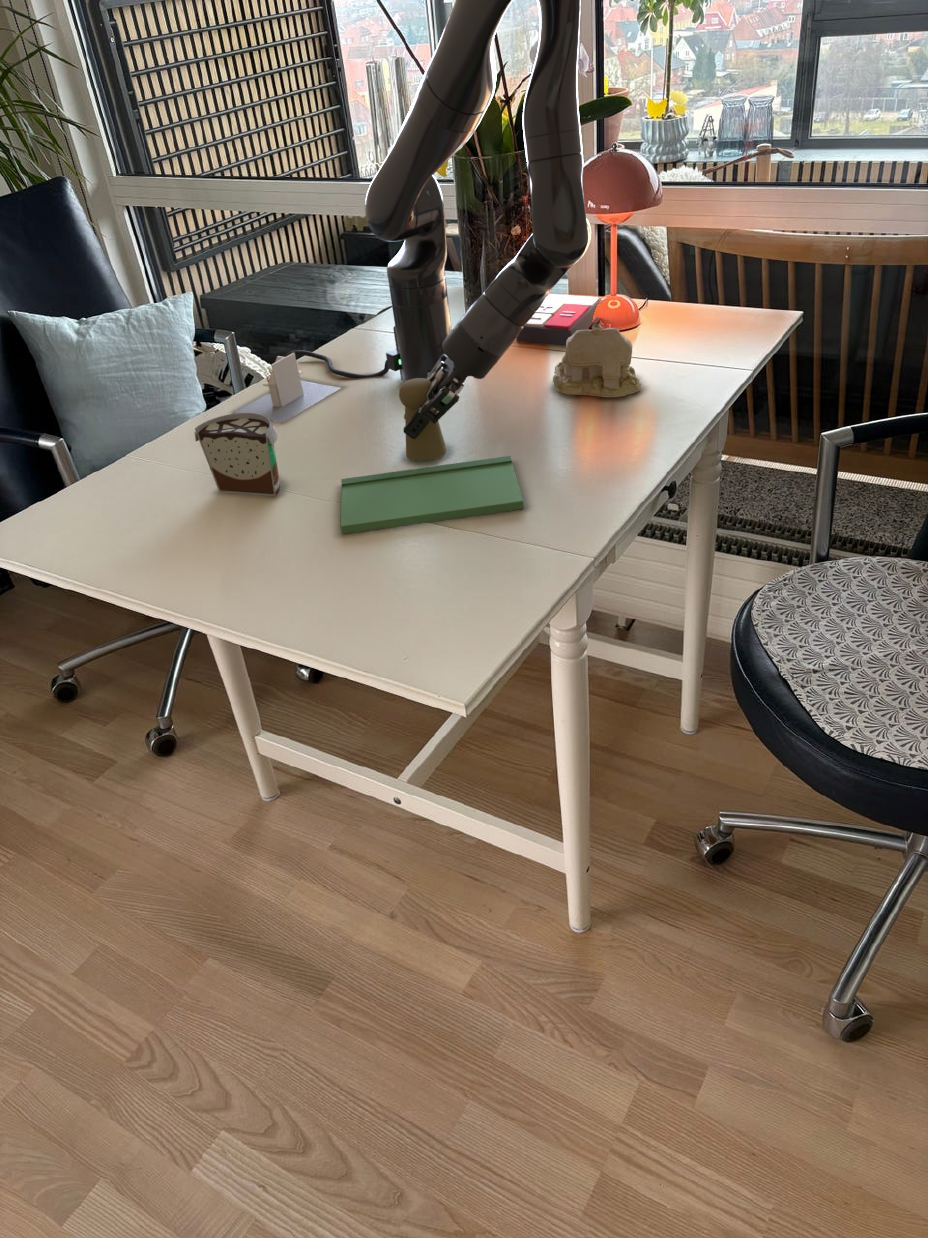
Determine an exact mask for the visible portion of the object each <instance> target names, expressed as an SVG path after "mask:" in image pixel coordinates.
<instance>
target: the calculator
mask: <svg viewBox="0 0 928 1238" xmlns="http://www.w3.org/2000/svg"><path fill="white" fill-rule="evenodd" d="M600 301H601V302H602V299H601V298H599V297H596V296H595V297H594V296H579V295H578V296H577V295H561V294H548V295H547V297H546V299H545V300H544V302H543V303H542V305H541V306H540V307H539V309H538V310H537V311H536V313H535V314H534V315H533V316H532V317H531V319H530V320H529V321H528V322H527V324H526V325H525V326H524V327H523V328H522V330H521V331H520V333H519V334H518V336H517V338H516V339H515V340H516V342H517V343H527V344H538V345H549V346H562V347H566V341H567V339H568V338H569V337H571V336H572V335H573V334H574V333H575V332H576V330H589V329H590V328H591V327H592V326H593V325H594V324H598V322H599V321H600V320H601V319H602V318H598V317H597V318H596V319H595V320H594V321H593V322H592V320H593V315H594V312H595V309H596V307H597V305H598V304H599V302H600Z"/></svg>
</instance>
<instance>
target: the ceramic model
mask: <svg viewBox="0 0 928 1238" xmlns="http://www.w3.org/2000/svg"><path fill="white" fill-rule="evenodd" d="M564 351H565V352H564V355H563V356H562V359H561V362H560V361H559V362H558V363H556V365H555V367H554V375H553V376H552V382H553V387H554V389H555V390H556V391H557V392H559V393H561V394H565V395H572V396H576V395H579V396H580V395H581V396H583V395H584V396H592V397H593V396H594V397H602V398H620V397H625V396H629V395H632V394H636V393H637V392H639V391H640V390H641V389H642V383H641V382H640V379H639V378H638V377H637V375H636V370H635V368H634V367H633V366H630V365H631V364H632V357H633V344H632V341H631V339H629V338H627V337H626V336H625V335H623V334H622V333H621V332H620V330H619V329H618V328H615V327H610V328H609V327H608V328H607V327H605V328H602V326H601V323H596V324H592V326H591V329H587V330H576V332H575V333H574V334H573V335H572V336H571V337H569V338H568V339H567V341H566V346H565V350H564Z"/></svg>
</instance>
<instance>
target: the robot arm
mask: <svg viewBox="0 0 928 1238" xmlns="http://www.w3.org/2000/svg"><path fill="white" fill-rule="evenodd" d="M513 1H514V0H455V1H454V4H453V6H452V10H451V12H450V15H449V17H448V20H447V21H446V24H445V27H444V29H443V32H442V34H441V37H440V39H439V42H438V44H437V46H436V49H435V51H434V53H433V55H432V57H431V60H430V61H429V63H428V64H427V67H426V70H425V72H424V74H423V77H422V79H421V81H420V84H419V86H418V87H417V91H416V94H415V97H414V98H413V102H412V103H411V105H410V108H409V111H408V113H407V115H406V117H405V119H404V121H403V123H402V126H401V128H400V130H399V133H398V135H397V136H396V139H395V141H394V143H393V145H392V147H391V148H390V150H389V152H388V154H387V156H386V158H385V159H384V160H383V162H382V164H381V166H380V168H379V169H378V171H377V173H376V174H375V176H374V177H373V179H372V181H371V183H370V185H369V187H368V189H367V192H366V195H365V196H366V197H365V201H364V202H365V203H364V209H365V210H364V213H365V219H366V223H367V225H368V228H369V230H370V231H371V233H372V234H373V235H374V236H375V237H376V238H377V239H379V240H382V241H384V242H388V243H390V242H391V243H392V242H393V243H394V242H401V241H404V242H403V244H402V246H401V248H400V249H399V251H398V252H397V254H396V255H395V256H394V257H393V258H392V259H391V260H390V261H389V262H388V264H387V267H386V276H387V282H388V290H389V295H390V302H391V307H392V315H393V321H394V325H393V334H394V342H395V349H393V350H390V351H387V352H385V356H386V360H385V361H384V367H383V369H381V370H380V371H378V372H375V373H369V374H361V373H354V372H349V371H345V370H341V369H336V368H335V367H334V364H333V361H332V359H331V358H330V357H329V356H326V355H323V354H320V353H317V352H313V351H308V350H304V349H303V350H302V349H295V350H291V351H289V352H287V353H285V354H284V356H283V357H287V356H289V355H290V354H292V353H295V356H305V357H306V356H307V357H310V358H314V359H318V360H320V361H324V362H325V363H326V364H327V368H328V370H329V371H330V372H331V374H333V375H337V376H340V377H345V378H349V379H368V378H369V379H370V378H378V377H384V376H385V375H387V374H388V372H389V371H390V370H391V371H393V372H397V371H399V375H400V381H402V384H403V383H404V382H406V381H408V380H411V379H415V378H424V379H428V380H430V381H431V382H432V384H431V386H430V387H429V388H428V391H427V392H426V400H425V402H424V403H423V404H422V405H421V406H420V407H419V408H418V410H417V412H416V413H415V414H414V415H413V417H412V418H411V419H410V420H409V422H408V423H407V424H406V425H405V424H404V427H403V434H405V436H406V435H408V436H409V437H411V438H412V439H416V438H417V437H418V435H419V434H420V433H421V432H422V430H423V429H424V428H425V427H426V425H427V424H428V423H429V422H430V421H431V422H432V423H434V424H435V423H436V422H437V421H439V420H441V418H442V417H444V415H445V414H446V413H447V412H448V411H449V410H450V409H452V408H453V407H454V406H455V404H457V403H458V402H459V400H460V398H461V397H460V395H459V394H460V393H461V391H462V390H463V388H464V387H465V381H466V380H467V378H468V377H472V378H474V379H476V380H483V379H484V378H486V376H487V375H488V374H489V373H490V372H491V370H492V369H493V368H494V366H496V364H497V363H498V362H499V361H500V359H501V358H502V357H503V356H504V355H505V353H506V352H507V351H508V350H509V349H510V347H511V346H512V345H513V343H515V342H516V340H517V339H516V338H517V336H518V334H519V333H520V331H521V330H522V328H523V327H524V326H525V325H526V324H527V322H528V321H529V320H530V319H531V317H532V316H533V315H534V314H535V313H536V311H537V310H538V309H539V307H540V306H541V305H542V303H543V302H544V300H545V299H546V297H547V296H548V295H549V293H550V292H551V291H552V290H553V289H554V287H555V286H556V285H557V284H558V283H559V282H560V281H561V280H562V279H563V277H564V276H565V275H566V274H567V273H568V272H569V271H570V270H571V268H573V266H574V265H575V264H576V263H577V262H579V261H580V260H581V259H582V257H584V255H585V253H586V252H587V250H588V248H589V246H590V243H591V239H592V228H591V224H590V221H589V218H587V213H586V212H587V211H586V204H585V196H584V188H583V174H584V154H583V142H582V132H581V122H580V111H579V90H578V70H579V69H578V67H579V65H578V63H579V45H580V43H579V42H580V22H581V0H536V2H537V8H538V18H539V39H538V46H537V52H536V57H535V60H534V64H533V67H532V72H531V75H530V78H529V82H528V85H527V89H526V92H525V96H524V102H523V109H522V111H523V112H522V130H523V142H524V150H525V158H526V162H527V163H526V166H527V172H528V173H527V174H528V177H529V183H530V211H531V228H532V234H530V236H529V237H528V239H527V240H526V242H525V243H524V244H523V246H522V247H521V248H520V250H519V251H518V253H517V254H516V255H515V256H514V258H513V259H512V260H511V261H509V262H508V263H507V264H506V265H505V266H504V267H503V268H502V270H501V271H499V273H498V274H497V275H496V276H495V277H494V279H493V280H492V281H491V282H490V284H489V285H488V286H487V288H486V289H485V291H484V292H483V293H482V294H481V295H480V296H479V297H478V298H477V299H476V300H475V301H473V303H472V304H471V305H470V306H469V308H468V309H467V310H466V312H465V313H464V314H463V315H462V317H461V318H460V319H459V320H458V322H457V323H456V324H455V326H454V327H453V328H452V319H451V313H450V304H449V303H450V302H449V295H448V287H447V279H446V278H447V277H446V263H447V262H446V261H447V258H448V244H447V230H446V227H447V226H446V214H445V213H446V212H445V204H444V198H443V193H442V190H441V187H440V185H439V182H438V181H437V179H436V177H435V176H434V175H435V173H437V172H438V171H439V170H440V169H441V168H442V167H443V166H444V165H445V164H446V163H448V162H449V160H450V159H452V158H453V157H454V156H455V154H457V153H458V152H459V150H461V149H462V148H463V146H464V145H465V144H466V143H467V142H468V141H469V140H470V139H471V137H472V136H473V135H474V133H475V131H476V130H477V128H478V126H479V125H480V123H481V121H482V119H483V117H484V116H485V113H486V111H487V110H488V107H489V106H490V104H491V101H492V99H493V97H494V95H495V90H496V82H497V68H496V60H495V59H496V58H495V52H494V50H495V49H494V39H495V35H496V34H497V30H498V28H499V26H500V24H501V21H502V19H503V17H504V15H505V13H506V11H507V10H508V9H509V7H510V5H511V4H512V2H513ZM433 392H434V393H435V396H434V395H433ZM431 408H435V410H434V411H433V412H432V411H431V410H430V409H431ZM403 419H404V420H405V413H404V414H403Z"/></svg>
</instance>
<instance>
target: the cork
mask: <svg viewBox="0 0 928 1238" xmlns="http://www.w3.org/2000/svg"><path fill="white" fill-rule="evenodd" d="M431 384H432V382H431V381H430V380H428V379H424V378H415V379H411V380H408V381H406V382H404V383H403V382H402V384H401V385H400V387H399V390H398V397H399V401H400V403H401V404H402V405H403V406H404V414H405V419H404V422H405V423H404V426H405V425H406V424H407V423H408V422H409V420H410V419H411V418H412V417H413V415H414V414H415V413H416V412H417V410H418V408H419V407H420V406H421V405H422V404H423V403H424V402H425V400H426V392H427V391H428V388H429V387H430V386H431ZM433 395H434V396H435V393H434V392H433ZM430 410H431V411H432V412H433V411H434V410H435V408H431V409H430ZM447 450H448V449H447V445H446V442H445V439H444V435H443V431H442V429H441V425H440V422H439V420H438V421H437V422H436V423H435V424H434V423H432V422H431V421H430V422H429V423H428V424H427V425H426V427H425V428H424V429H423V430H422V432H421V433H420V434H419V435H418V437H417V438H416V439H412V438H411V437H409V436H408V435H406V434H405V456H406V458H407V460H410V461H411V462H416V463H426V462H432V461H436V460H438V459H440V458H442V457H444V456H445V454H446V453H447Z"/></svg>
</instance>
